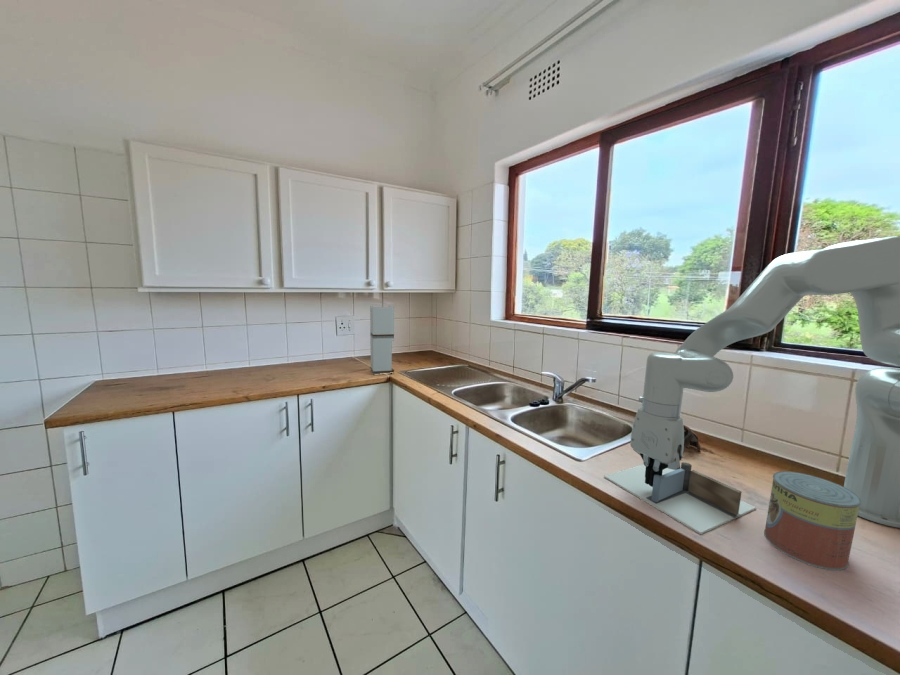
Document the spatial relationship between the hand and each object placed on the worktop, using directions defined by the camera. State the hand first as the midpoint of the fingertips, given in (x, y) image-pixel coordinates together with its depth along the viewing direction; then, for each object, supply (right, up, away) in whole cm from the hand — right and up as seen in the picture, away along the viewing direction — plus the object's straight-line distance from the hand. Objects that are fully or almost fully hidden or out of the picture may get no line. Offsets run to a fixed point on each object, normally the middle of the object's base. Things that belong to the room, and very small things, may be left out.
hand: (652, 483), depth 84 cm
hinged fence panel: (+2, -2, -2) cm, 3 cm away
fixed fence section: (+10, -3, -3) cm, 11 cm away
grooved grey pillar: (-83, +15, +109) cm, 138 cm away
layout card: (+6, -2, +1) cm, 6 cm away
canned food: (+19, -5, -16) cm, 26 cm away
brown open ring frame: (+22, 0, +25) cm, 34 cm away
